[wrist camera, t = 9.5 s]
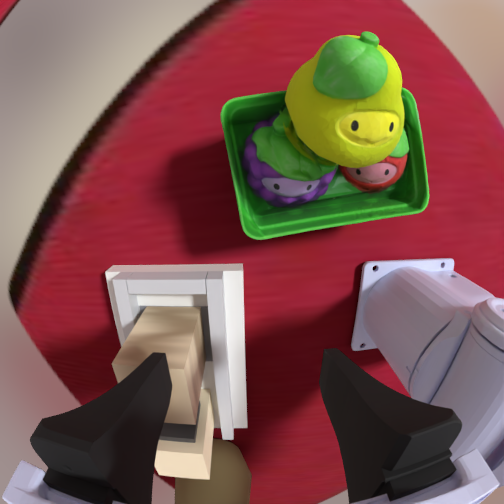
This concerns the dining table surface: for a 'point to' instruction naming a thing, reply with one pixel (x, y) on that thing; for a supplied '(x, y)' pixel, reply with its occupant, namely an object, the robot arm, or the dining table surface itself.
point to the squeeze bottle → (218, 479)
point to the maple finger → (169, 355)
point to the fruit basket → (328, 144)
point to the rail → (216, 345)
